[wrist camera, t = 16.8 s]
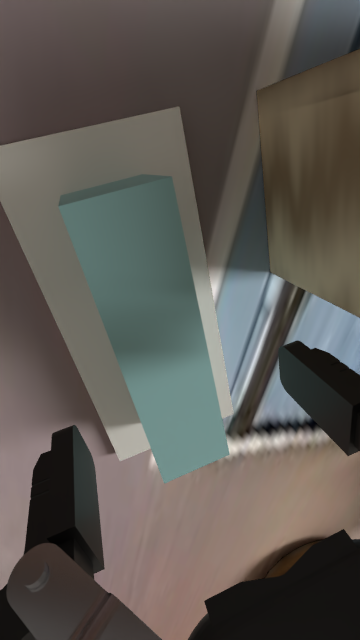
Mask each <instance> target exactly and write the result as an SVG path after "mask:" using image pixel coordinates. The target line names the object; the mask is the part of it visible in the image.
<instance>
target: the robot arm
mask: <svg viewBox="0 0 360 640" xmlns="http://www.w3.org/2000/svg"><path fill="white" fill-rule="evenodd" d="M278 353H279V369H280V380H281V383H282V385H283V387H284V389H285V390H286V392H287V393H288V394H289V395H290V396H291V397H292V398H293V399H294V400H295V401H296V402H297V403H298V404H299V405H300V406H301V407H302V408H303V409H304V410H305V412H306V413H307V414H308V415H309V416H310V417H311V418H312V419H313V420H314V421H315V422H316V423H317V424H318V425H319V426H320V427H321V428H322V429H323V430H324V431H325V432H326V433H327V435H328V436H329V437H330V438H331V439H332V440H333V441H334V442H335V443H336V444H337V445H338V446H339V447H340V448H341V449H342V450H343V451H344V452H345V453H346V454H347V455H348V456H349V455H351V454H354V453H356V452H358V451H360V375H359V374H357V373H356V372H354V371H353V370H352V369H349V367H348V366H346V365H345V364H343V363H342V362H340V361H339V360H338V359H337V358H335V357H334V356H332V355H331V354H330V353H328V352H325V351H322V350H319V349H317V348H314V349H310V348H308V347H307V346H306V345H304V344H303V343H302V342H300V341H295V342H292V343H289V344H287V345H284V346H282V347H280V348H279V352H278ZM30 497H31V500H30V506H29V515H28V524H27V534H26V543H25V551H24V555H23V557H22V558H21V559H20V560H19V561H18V562H17V564H16V565H15V567H14V569H13V571H12V573H11V575H10V577H9V580H8V583H7V585H6V586H5V587H4V588H3V589H2V590H1V591H0V640H162V639H161V638H160V637H159V636H158V635H157V634H155V633H154V632H153V631H152V630H151V629H150V628H149V627H148V626H147V625H146V624H145V623H144V622H143V621H141V620H140V619H139V618H138V617H137V616H136V615H135V614H134V613H133V612H132V611H131V610H130V609H129V608H127V607H126V606H125V605H124V604H123V603H122V602H121V601H120V600H119V599H118V598H117V597H115V596H114V595H113V594H111V593H108V592H107V591H105V590H104V589H103V588H102V587H101V586H100V585H99V584H98V583H97V582H96V581H95V580H94V574H95V573H97V572H99V571H101V570H103V569H104V558H103V548H102V537H101V527H100V516H99V505H98V495H97V484H96V473H95V466H94V462H93V458H92V456H91V453H90V451H89V449H88V447H87V445H86V443H85V442H84V440H83V438H82V436H81V434H80V432H79V430H78V428H77V427H76V426H75V425H73V426H70V427H67V428H65V429H62V430H60V431H57V432H54V433H53V434H52V443H51V451H48V452H45V453H43V454H41V455H40V457H39V459H38V461H37V463H36V465H35V467H34V469H33V477H32V488H31V496H30ZM204 602H205V605H206V608H207V611H208V613H207V614H206V615H205V616H204V617H203V618H202V620H201V621H200V622H199V623H198V625H197V626H196V627H195V629H194V630H193V632H192V633H191V635H190V637H189V638H188V640H360V539H354V540H352V539H351V538H350V537H349V535H348V534H347V533H346V531H345V530H344V529H343V530H341V531H339V532H337V533H335V534H333V535H331V536H330V537H328V538H326V539H324V540H322V541H320V542H318V543H316V544H314V545H312V546H311V547H310V548H309V549H308V550H307V551H306V552H305V553H304V554H303V555H302V556H301V557H300V558H299V560H298V561H297V562H296V563H295V564H294V565H293V566H292V567H291V568H290V569H289V570H288V571H287V572H286V573H285V574H283V575H281V576H277V577H270V578H264V579H258V580H251V581H245V582H240V583H238V584H236V585H234V586H232V587H230V588H229V589H227V590H225V591H223V592H221V593H219V594H217V595H215V596H213V597H211V598H209V599H207V600H205V601H204Z"/></svg>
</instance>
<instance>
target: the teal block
mask: <svg viewBox="0 0 360 640" xmlns="http://www.w3.org/2000/svg"><path fill="white" fill-rule="evenodd" d="M58 207H59V210H60V212H61V215H62V218H63V220H64V223H65V225H66V228H67V231H68V233H69V236H70V238H71V241H72V244H73V246H74V249H75V251H76V254H77V257H78V259H79V262H80V264H81V267H82V270H83V272H84V275H85V278H86V280H87V283H88V285H89V288H90V291H91V293H92V296H93V298H94V301H95V304H96V306H97V309H98V311H99V314H100V317H101V319H102V322H103V324H104V327H105V330H106V332H107V335H108V338H109V340H110V343H111V345H112V348H113V351H114V353H115V356H116V358H117V361H118V364H119V366H120V369H121V371H122V374H123V377H124V379H125V382H126V384H127V387H128V390H129V392H130V395H131V398H132V400H133V403H134V405H135V408H136V411H137V413H138V416H139V418H140V421H141V424H142V426H143V429H144V431H145V434H146V437H147V439H148V442H149V444H150V447H151V450H152V452H153V455H154V458H155V460H156V463H157V465H158V468H159V471H160V473H161V476H162V478H163V481H164V483H167V482H169V481H171V480H173V479H176V478H178V477H180V476H182V475H185V474H187V473H189V472H191V471H194V470H196V469H198V468H200V467H203V466H205V465H207V464H209V463H212V462H214V461H216V460H218V459H221V458H223V457H225V456H227V455H230V454H229V449H228V445H227V440H226V435H225V430H224V425H223V421H222V416H221V411H220V406H219V401H218V396H217V392H216V387H215V382H214V377H213V372H212V368H211V363H210V358H209V353H208V348H207V343H206V339H205V334H204V329H203V324H202V319H201V315H200V310H199V305H198V300H197V295H196V290H195V286H194V281H193V276H192V271H191V266H190V261H189V257H188V252H187V247H186V242H185V237H184V233H183V228H182V223H181V218H180V213H179V208H178V204H177V199H176V194H175V189H174V184H173V180H172V176H161V175H147V174H141V175H137V176H134V177H130V178H126V179H122V180H118V181H114V182H110V183H107V184H103V185H99V186H95V187H91V188H87V189H83V190H80V191H76V192H72V193H68V194H64V195H61V196H60V201H59V205H58Z"/></svg>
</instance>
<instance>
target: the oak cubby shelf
mask: <svg viewBox="0 0 360 640" xmlns="http://www.w3.org/2000/svg"><path fill="white" fill-rule="evenodd" d="M257 102H258V115H259V128H260V141H261V155H262V168H263V181H264V194H265V207H266V221H267V234H268V247H269V260H270V272H271V273H273V274H275V275H277V276H279V277H281V278H283V279H285V280H287V281H289V282H291V283H293V284H294V285H296V286H298V287H300V288H302V289H304V290H306V291H308V292H310V293H312V294H314V295H316V296H318V297H320V298H322V299H324V300H326V301H328V302H330V303H332V304H334V305H336V306H338V307H340V308H342V309H344V310H346V311H348V312H350V313H352V314H353V315H355V316H357V317H359V318H360V49H358V50H355V51H353V52H351V53H348V54H346V55H343V56H341V57H338V58H336V59H333V60H331V61H329V62H326V63H324V64H321V65H319V66H316V67H314V68H311V69H309V70H306V71H304V72H302V73H299V74H297V75H294V76H292V77H289V78H287V79H284V80H282V81H280V82H277V83H275V84H272V85H270V86H267V87H265V88H262V89H260V90H257Z"/></svg>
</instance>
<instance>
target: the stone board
mask: <svg viewBox="0 0 360 640" xmlns="http://www.w3.org/2000/svg"><path fill="white" fill-rule="evenodd" d="M141 174H147V175H161V176H172V180H173V184H174V189H175V194H176V199H177V204H178V208H179V213H180V218H181V223H182V228H183V233H184V237H185V242H186V247H187V252H188V257H189V261H190V266H191V271H192V276H193V281H194V286H195V290H196V295H197V300H198V305H199V310H200V315H201V319H202V324H203V329H204V334H205V339H206V343H207V348H208V353H209V358H210V363H211V368H212V372H213V377H214V382H215V387H216V392H217V396H218V401H219V406H220V411H221V416H222V419H223V418H225V417H227V416H230V415H232V414H233V408H232V402H231V397H230V391H229V385H228V380H227V374H226V368H225V363H224V357H223V351H222V346H221V340H220V334H219V328H218V323H217V317H216V311H215V306H214V300H213V294H212V289H211V283H210V277H209V272H208V266H207V260H206V255H205V249H204V243H203V238H202V232H201V226H200V221H199V215H198V209H197V203H196V198H195V192H194V186H193V181H192V175H191V169H190V164H189V158H188V152H187V147H186V141H185V135H184V130H183V124H182V118H181V113H180V107H179V106H178V107H174V108H169V109H165V110H160V111H156V112H151V113H146V114H142V115H137V116H133V117H128V118H124V119H119V120H115V121H110V122H106V123H101V124H96V125H92V126H87V127H83V128H78V129H74V130H69V131H65V132H60V133H56V134H51V135H46V136H42V137H37V138H33V139H28V140H24V141H19V142H15V143H10V144H6V145H1V146H0V202H1V204H2V206H3V208H4V211H5V213H6V215H7V217H8V219H9V221H10V224H11V226H12V228H13V230H14V232H15V235H16V237H17V239H18V241H19V243H20V245H21V248H22V250H23V252H24V254H25V256H26V258H27V261H28V263H29V265H30V267H31V269H32V271H33V274H34V276H35V278H36V280H37V282H38V284H39V287H40V289H41V291H42V293H43V295H44V297H45V300H46V302H47V304H48V306H49V308H50V310H51V313H52V315H53V317H54V319H55V321H56V324H57V326H58V328H59V330H60V332H61V334H62V337H63V339H64V341H65V343H66V345H67V347H68V350H69V352H70V354H71V356H72V358H73V360H74V363H75V365H76V367H77V369H78V371H79V373H80V376H81V378H82V380H83V382H84V384H85V386H86V389H87V391H88V393H89V395H90V397H91V399H92V402H93V404H94V406H95V408H96V410H97V413H98V415H99V417H100V419H101V421H102V423H103V426H104V428H105V430H106V432H107V434H108V436H109V439H110V441H111V443H112V445H113V447H114V449H115V452H116V454H117V456H118V458H119V460H120V461H122V460H124V459H127V458H129V457H132V456H134V455H136V454H139V453H141V452H144V451H146V450H148V449H151V447H150V444H149V442H148V439H147V437H146V434H145V431H144V429H143V426H142V424H141V421H140V418H139V416H138V413H137V411H136V408H135V405H134V403H133V400H132V398H131V395H130V392H129V390H128V387H127V384H126V382H125V379H124V377H123V374H122V371H121V369H120V366H119V364H118V361H117V358H116V356H115V353H114V351H113V348H112V345H111V343H110V340H109V338H108V335H107V332H106V330H105V327H104V324H103V322H102V319H101V317H100V314H99V311H98V309H97V306H96V304H95V301H94V298H93V296H92V293H91V291H90V288H89V285H88V283H87V280H86V278H85V275H84V272H83V270H82V267H81V264H80V262H79V259H78V257H77V254H76V251H75V249H74V246H73V244H72V241H71V238H70V236H69V233H68V231H67V228H66V225H65V223H64V220H63V218H62V215H61V212H60V210H59V207H58V205H59V201H60V196H61V195H64V194H68V193H72V192H76V191H80V190H83V189H87V188H91V187H95V186H99V185H103V184H107V183H110V182H114V181H118V180H122V179H126V178H130V177H134V176H137V175H141Z"/></svg>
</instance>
